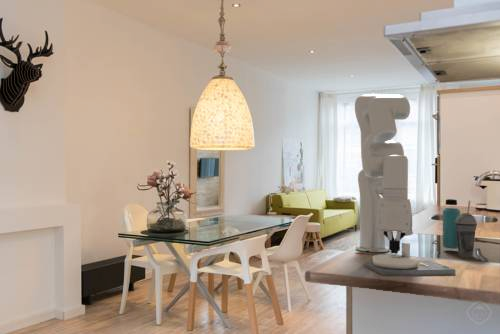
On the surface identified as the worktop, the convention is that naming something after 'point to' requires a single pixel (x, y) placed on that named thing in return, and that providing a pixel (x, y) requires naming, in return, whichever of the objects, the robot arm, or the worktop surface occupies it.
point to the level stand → (413, 269)
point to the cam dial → (397, 259)
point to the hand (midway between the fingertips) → (394, 252)
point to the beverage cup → (465, 233)
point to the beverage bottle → (450, 225)
